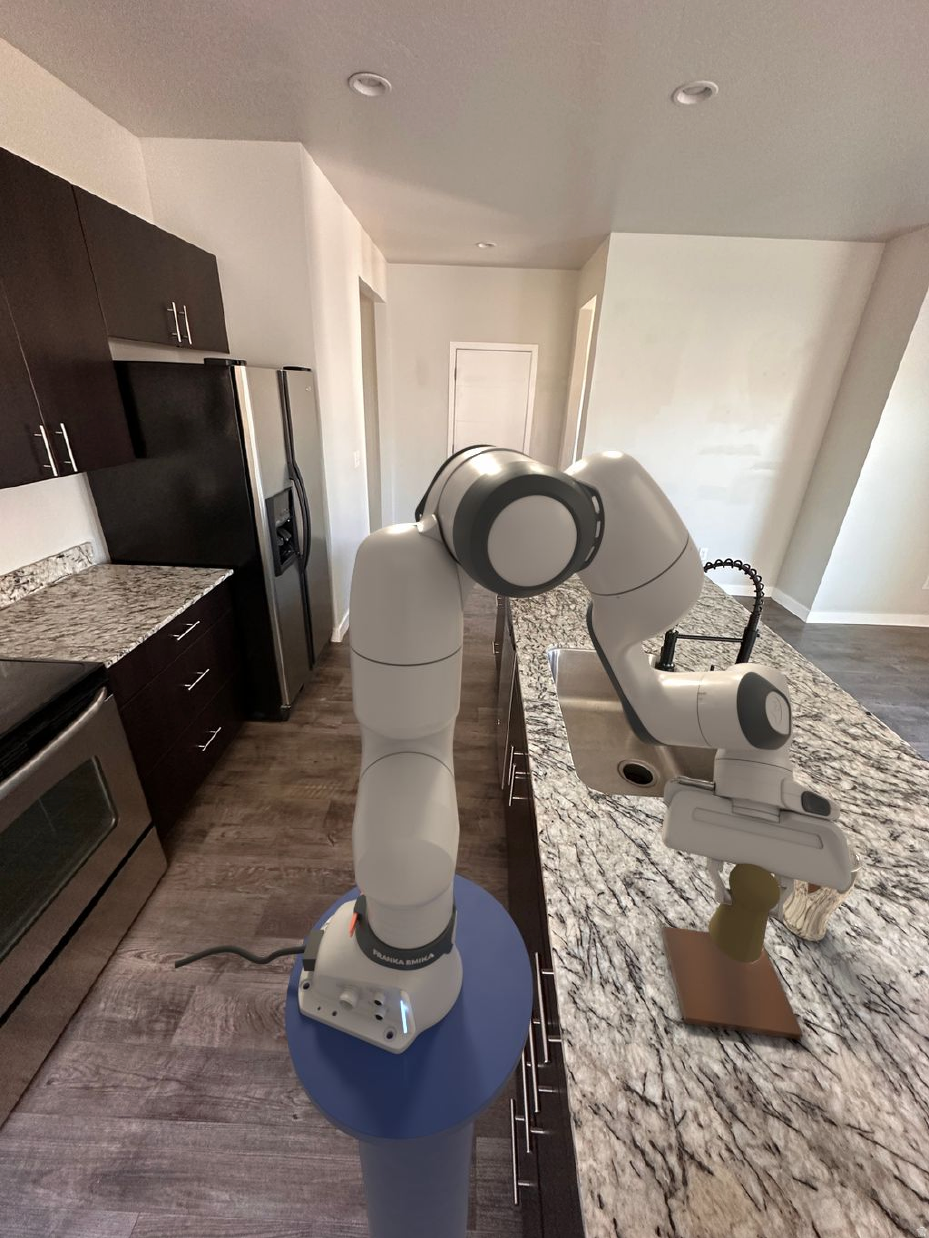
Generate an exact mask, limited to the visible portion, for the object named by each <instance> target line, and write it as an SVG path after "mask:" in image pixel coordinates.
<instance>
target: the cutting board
mask: <svg viewBox="0 0 929 1238" xmlns="http://www.w3.org/2000/svg"><path fill="white" fill-rule="evenodd" d="M660 932H661V936H662V940H663V944H664V948H665V952H666V957H667V960H668V964H669V967H670V972H671V975H672V979H673V983H674V988H675V991H676V992H675V993H676V996H677V998H678V1003H679V1007H680V1011H681V1014H682V1019H683V1022H684V1024H689V1025H695V1026H702V1027H709V1028H714V1029H715V1028H716V1029H722V1030H729V1031H735V1032H736V1031H737V1032H743V1033H749V1034H756V1035H762V1036H770V1037H776V1038H783V1039H788V1040H789V1039H790V1040H796V1041H801V1039H802V1038H803V1036H804V1034H803V1032H802V1030H801V1029H802V1028H801V1027H800V1025H799V1022H798V1020H797V1018H796V1015H795V1013H794V1011H793V1009H792V1007H791V1004H790V1002H789V999H788V997H787V995H786V993H785V991H784V988H783V985H782V984H781V981H780V979H779V977H778V974H777V972H776V970H775V967H774V966H773V963H772V961H771V958H770V956H769V954H768V952H767V949H766V947H765V945H764V944H763V949H762V954H761V956H760V958H759V959H758V960H756V961H754V962H750V963H744V962H740V961H736V960H734V959H732V958H730V957H728V956H727V955H726V954H724V953H723V952H722V951H721V950H720V949H719V948H718V947H717V946H716V945H715V944H714V942H713V940H712V938H711V937H710V934H709V931H702V930H694V929H687V928H679V927H671V926H664V925H663V926H662V927H661V931H660Z"/></svg>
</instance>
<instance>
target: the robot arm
mask: <svg viewBox="0 0 929 1238" xmlns="http://www.w3.org/2000/svg"><path fill="white" fill-rule="evenodd" d="M414 510H415V511H414V520H415V522H412V523H411V522H410V523H397V524H391V525H387V526H385V527H384V526H383V527H381V528H379V529H377V530H375V531H373V532H371V533H370V534H368V535H367V536H366V537H365V538H364V539H363V540H362V542H361V543H360V544H359V546H358V548H357V551H356V553H355V557H354V563H353V569H352V576H351V582H350V593H349V606H348V637H349V640H348V641H349V661H350V675H351V695H352V712H353V715H354V716H355V717H354V718H355V719H356V721H357V722H358V727H359V733H360V740H361V757H360V758H361V760H360V771H359V779H358V785H357V794H356V801H355V806H354V807H355V808H354V814H353V819H352V828H351V848H352V849H351V850H352V862H353V870H354V871H353V872H354V878H355V879H354V880H355V882H356V886H358V889H359V891H360V892H361V895H360V896H359V897H358V898H357V899H356V900H353V901H349V902H346V903H344V904H343V905H342V906H340V907H339V908H338V910H337V911H336V912H335V914H334V915H333V916H332V917H331V918H329V919H328V921H327V922H326V923H325V924H324V925H323V927H322V928H321V929H320V930H319V929H312V928H311V929H310V930H309V933H308V935H309V937H308V940H307V944H306V946H302V945H299V946H292V947H284V948H281V949H277V950H274V951H273V952H271V953H270V954H269V955H268V956H258V955H256V954H254V953H252V952H249V951H248V950H246V949H244V948H242V947H239V946H236V945H229V944H228V945H227V944H226V945H219V946H214V947H209V948H206V949H204V950H201V951H199V952H197V953H194V954H192V955H190V956H186V957H184V958H182V959H179V960H176V961H175V962H174V969H175V970H176V969H179V968H183V967H185V966H188V965H190V964H192V963H195V962H196V961H197V962H198V961H199V960H203V959H204V958H207V957H210V956H213V955H218V954H224V953H226V954H228V953H229V954H234V955H237V956H240V957H242V958H244V959H245V960H247V961H248V962H250V963H253V964H256V965H261V966H262V965H268V964H270V963H271V962H273V961H274V960H275V959H277V958H281V957H285V956H291V955H293V956H294V955H298V954H303V953H304V954H303V958H302V962H303V969H302V973H301V977H300V982H299V990H298V1001H299V1008H300V1012H301V1013H302V1014H304V1015H305V1016H308V1017H310V1018H312V1019H314V1020H317V1021H319V1022H321V1023H324V1024H326V1025H328V1026H331V1027H333V1028H335V1029H338V1030H340V1031H342V1032H345V1033H347V1034H349V1035H352V1036H354V1037H357V1038H359V1039H361V1040H364V1041H366V1042H368V1043H371V1044H373V1045H375V1046H378V1047H380V1048H382V1049H385V1050H387V1051H389V1052H392V1053H394V1054H400V1053H402V1052H404V1051H405V1050H406V1049H407V1048H408V1047H409V1046H410V1044H411V1043H412V1042H413V1041H414V1039H415V1038H416V1037H417V1036H418V1035H419V1034H420V1033H421V1032H423V1031H424V1030H426V1029H428V1028H430V1027H431V1026H433V1025H435V1024H436V1023H438V1022H439V1021H440V1020H441V1019H442V1018H444V1017H445V1015H446V1014H447V1013H448V1012H449V1011H450V1010H451V1008H452V1007H453V1005H454V1004H455V1002H456V1000H457V998H458V995H459V992H460V989H461V985H462V979H463V967H462V961H461V957H460V954H459V952H458V949H457V947H456V945H455V938H456V925H457V911H456V903H455V898H454V894H453V878H454V874H456V866H457V860H458V852H459V844H460V842H459V841H460V831H461V830H460V819H459V808H458V800H457V791H456V780H455V768H454V767H455V766H454V751H453V750H454V734H455V727H456V721H457V717H458V715H459V712H460V709H461V689H462V671H463V669H462V668H463V653H464V652H463V651H464V649H463V648H464V613H465V611H466V605H467V601H468V599H469V596H470V594H471V592H472V590H473V589H474V587H475V585H476V584H478V585H479V586H481V587H482V588H484V589H486V590H488V591H490V592H491V593H494V594H496V595H499V596H502V597H506V598H511V599H529V598H533V597H537V596H541V595H543V594H545V593H548V592H550V591H552V590H554V589H556V588H557V587H559V586H560V585H562V584H564V583H565V582H567V581H568V580H569V579H570V578H571V577H572V576H573V575H574V574H576V575H577V577H578V578H579V580H580V581H581V583H582V585H583V586H584V587H585V589H586V590H587V592H588V594H589V595H590V598H591V600H590V601H589V603H588V606H587V608H586V613H585V622H586V629H587V632H588V635H589V639H590V641H591V643H592V646H593V648H594V651H595V652H596V654H597V657H598V658H599V661H600V662H601V663H600V664H601V665H602V667H603V668H604V671H605V673H606V674H607V676H608V679H609V680H610V682H611V685H612V686H613V688H614V691H615V692H616V694H617V696H618V699H619V701H620V704H621V708H622V711H623V712H622V713H623V716H624V719H625V723H626V724H627V726H628V728H629V730H630V731H631V732H632V734H633V735H634V736H635V737H636V738H637V739H638V740H639V741H640V742H641V743H642V744H644V745H646V746H650V747H674V746H679V747H690V748H700V749H701V748H703V749H713V750H716V749H717V751H716V753H715V755H714V760H713V761H714V762H713V778H712V779H713V781H709V780H705V779H699V778H698V779H697V778H692V777H689V776H685V775H677V777H672V778H669V779H667V781H666V782H665V784H664V787H663V798H662V799H663V802H664V803H663V804H664V805H665V806H666V809H665V813H664V817H663V821H662V826H661V836H660V839H661V841H662V843H663V844H664V846H665V847H666V848H668V849H670V850H674V851H679V852H683V853H687V854H692V855H696V856H700V857H703V858H706V869H707V872H708V874H709V876H710V879H711V880H712V883H713V884H714V886H715V888H714V900H715V902H716V903H717V904H725V905H729V906H731V905H732V899H731V897H732V891H731V890H730V887H729V888H728V887H726V886H725V883H724V881H723V878H722V877H721V875H720V872H724V863H727V864H732V865H735V866H736V865H739V864H744V863H745V864H753V865H757V866H760V867H762V868H764V869H766V870H767V871H769V872H770V873H771V874H772V875H773V876H774V878H775V879H776V880H777V883H778V885H779V888H780V900H779V902H778V903H777V905H776V906H775V907H774V908H773V909H771V910H769V913H768V917H771V918H774V919H778V920H780V921H781V920H782V918H783V903H785V902H786V900H787V899H788V898H789V896H790V895H791V894H792V892H793V891H794V879H796V880H800V881H804V882H808V883H811V884H815V885H819V886H823V887H827V888H831V889H835V890H840V891H844V890H845V889H846V888H847V887H848V886H849V885H850V884H851V864H850V856H849V849H848V845H849V844H848V839H847V837H846V834H845V832H844V831H843V829H842V828H841V827H840V826H839V825H838V824H837V823H835V822H834V821H837V820H839V819H840V817H841V806H840V805H839V804H838V802H836V801H835V800H833V799H831V798H829V797H826V796H824V795H822V794H820V793H818V792H817V791H814V790H812V789H810V788H808V787H806V786H805V785H802V784H801V783H799V782H796V781H795V780H794V769H793V765H792V762H791V758H790V750H791V746H792V743H793V742H794V741H793V740H794V721H793V718H794V717H793V707H792V699H791V693H790V688H789V685H788V681H787V678H786V676H785V675H784V673H782V672H781V671H780V670H778V669H776V668H774V667H772V666H769V665H766V664H762V663H758V662H757V663H755V662H741V663H735V664H733V665H730V666H729V667H728V668H727V669H725V670H709V671H679V672H678V671H676V672H675V671H674V672H673V671H665V670H660V669H657V668H654V667H652V666H651V664H650V663H651V662H650V661H649V658H648V656H647V653H646V651H645V649H644V646H643V644H642V643H644V642H645V641H648V640H651V639H653V638H657V637H659V636H661V635H663V634H665V633H667V632H669V631H670V630H671V629H673V628H675V627H676V626H677V625H679V624H680V623H681V622H682V621H683V620H684V619H685V618H686V617H687V616H688V615H689V614H690V612H691V611H692V610H693V608H694V607H695V605H696V604H697V603H698V601H699V598H700V596H701V593H702V590H703V587H704V581H705V570H704V565H703V561H702V557H701V555H700V552H699V550H698V547H697V545H696V543H695V540H694V539H693V537H692V535H691V533H690V532H689V530H688V528H687V525H685V523H684V521H683V518H681V516H680V514H679V512H678V511H677V509H676V507H675V506H674V505H673V502H672V501H671V500H670V499H669V497H668V496H667V495H666V493H665V491H664V490H663V489H662V488H661V486H660V484H658V483H657V481H656V480H655V479H654V477H652V475H651V474H650V473H649V472H648V471H647V469H646V468H644V466H643V465H642V464H641V463H640V462H639V461H638V460H637V459H636V458H635V457H633V456H632V455H630V454H628V453H626V452H624V451H618V450H605V451H600V452H595V453H592V454H589V455H587V456H585V457H583V458H580V459H579V460H577V461H576V462H574V463H573V464H571V465H570V466H569V467H568V468H567V469H565V470H564V471H563V470H562V471H561V470H559V469H558V468H555V467H553V466H551V465H547V464H545V463H542V462H540V461H537V460H535V459H534V458H532V457H531V456H529V455H528V454H526V453H524V452H523V451H519V450H516V449H514V448H509V447H503V446H497V445H492V444H474V445H470V446H467V447H464V448H462V449H460V450H458V451H456V452H455V453H453V454H451V455H450V456H449V457H448V458H447V459H446V460H445V461H444V462H443V463H442V464H441V466H440V467H439V468H438V470H437V471H436V473H435V474H434V476H433V478H432V480H431V482H430V483H429V485H428V488H427V489H426V491H425V493H424V494H423V496H422V498H421V499H420V501H419V503H418V504H417V506H416V507H415V509H414ZM306 986H309V988H308V989H306V990H305V989H304V988H305V987H306ZM334 1015H336V1016H334ZM390 1034H391V1035H393V1037H392V1039H387V1036H388V1035H390Z"/></svg>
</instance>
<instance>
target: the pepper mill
mask: <svg viewBox="0 0 929 1238" xmlns="http://www.w3.org/2000/svg"><path fill="white" fill-rule="evenodd" d="M729 872H730V873H729V876H728V886H729V889H730V890H731V891H732V897H731V899H732V905H731V906H729V905H725V904H721V903H719V905H718V907H717V908H716V910H715V912H714V913H713V915H712V917H711V918H710V919H709V921H708V927H707V929H708V932H709V934H710V937H711V938H712V940H713V942H714V944H715V945H716V946H717V947H718V948H719V949H720V950H721V951H722V952H723V953H724V954H726V955H727V956H728V957H730V958H732V959H734V960H736V961H740V962H744V963H750V962H754V961H756V960H758V959H759V958H760V956H761V954H762V949H763V945H764V943H765V936H766V931H767V924H768V919H769V916H768V913H769V910H771V909H773V908H774V907H775V906H776V905H777V903H778V902H779V900H780V888H779V887H780V886H779V885H778V883H777V880H776V879H775V878H774V874H771V873H770V872H769V871H767V870H766V869H764V868H762V867H760V866H757V865H753V864H745V863H744V864H739V865H735V866H734V867H733V868H732V869H731V870H730V871H729Z"/></svg>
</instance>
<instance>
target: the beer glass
mask: <svg viewBox="0 0 929 1238" xmlns="http://www.w3.org/2000/svg"><path fill="white" fill-rule="evenodd" d="M848 849H849V856H850V864H851V884H850V885H849V886H848V887H847V888H846V889H845V890H844V891H840V890H835V889H831V888H827V887H823V886H819V885H815V884H811V883H808V882H804V881H800V880H796V879H794V891H793V892H792V894H791V895H790V896H789V898H788V899H787V900H786V902H785V903H783V918H782V920H781V919H780V921H781V922H782V923H783V925H784V926H785V927H786V928H787V929H788V930H789V931H790V932H791V933H792V934H794V935H795V936H797V937H799V938H801V939H803V940H806V941H809V942H819V941H821V940H823V938H824V937H825V935H826V931H827V924H828V921H829V919H830V917H831V916H832V915H833V914H834V913H835V912H836V910H838V909H839V908H840V907H841V906H842V904H844V902H845V901H846V900H847V898H849V896H850V894H851V893H852V891H853V889H854V887H855V884H856V882H857V879H858V877H859V873H860V870H861V868H862V865H863V863H862V860H861V858H860V855H859V854H858V853H857V852H856V851H855V850H854V848H852V846H851V845H849V844H848Z"/></svg>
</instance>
